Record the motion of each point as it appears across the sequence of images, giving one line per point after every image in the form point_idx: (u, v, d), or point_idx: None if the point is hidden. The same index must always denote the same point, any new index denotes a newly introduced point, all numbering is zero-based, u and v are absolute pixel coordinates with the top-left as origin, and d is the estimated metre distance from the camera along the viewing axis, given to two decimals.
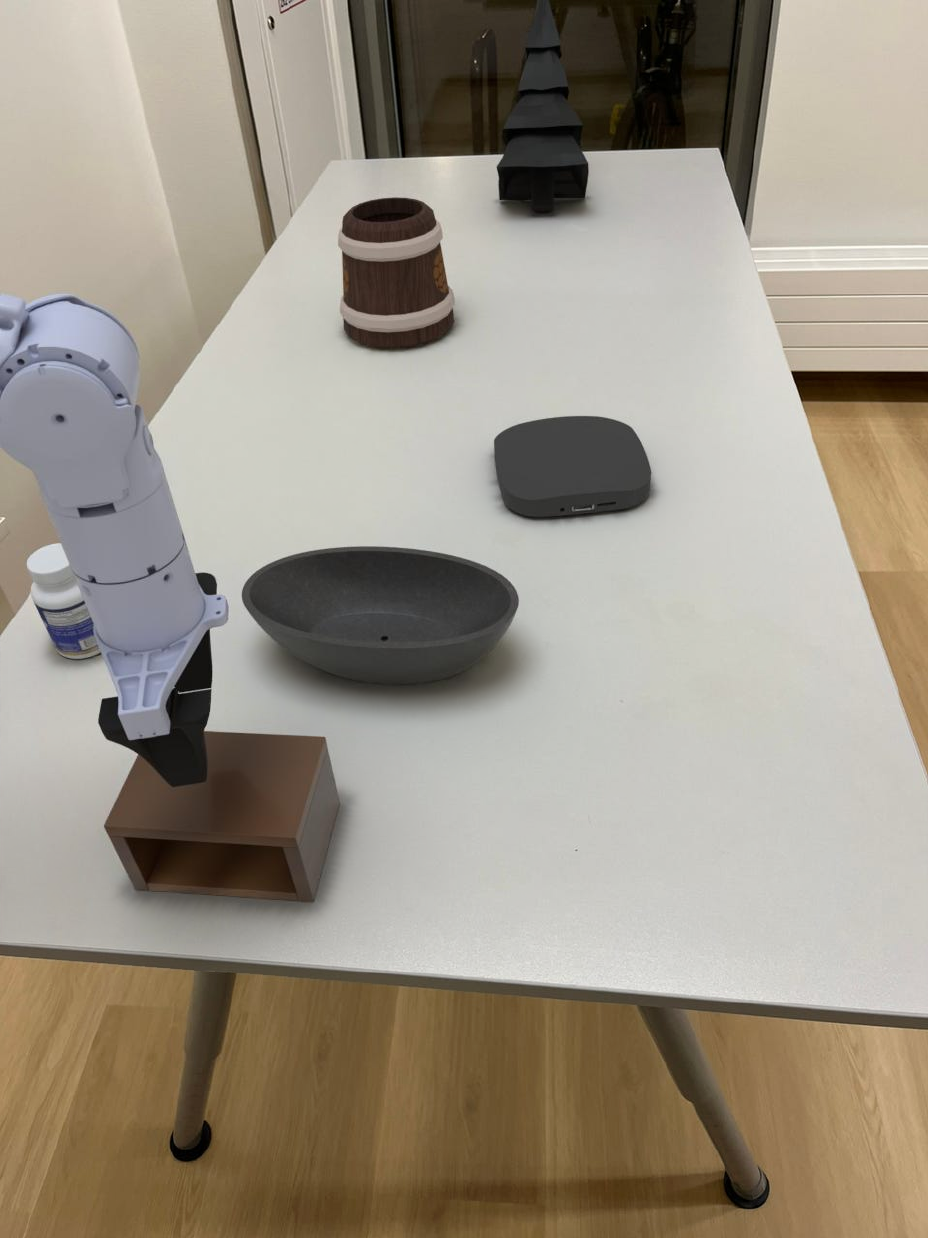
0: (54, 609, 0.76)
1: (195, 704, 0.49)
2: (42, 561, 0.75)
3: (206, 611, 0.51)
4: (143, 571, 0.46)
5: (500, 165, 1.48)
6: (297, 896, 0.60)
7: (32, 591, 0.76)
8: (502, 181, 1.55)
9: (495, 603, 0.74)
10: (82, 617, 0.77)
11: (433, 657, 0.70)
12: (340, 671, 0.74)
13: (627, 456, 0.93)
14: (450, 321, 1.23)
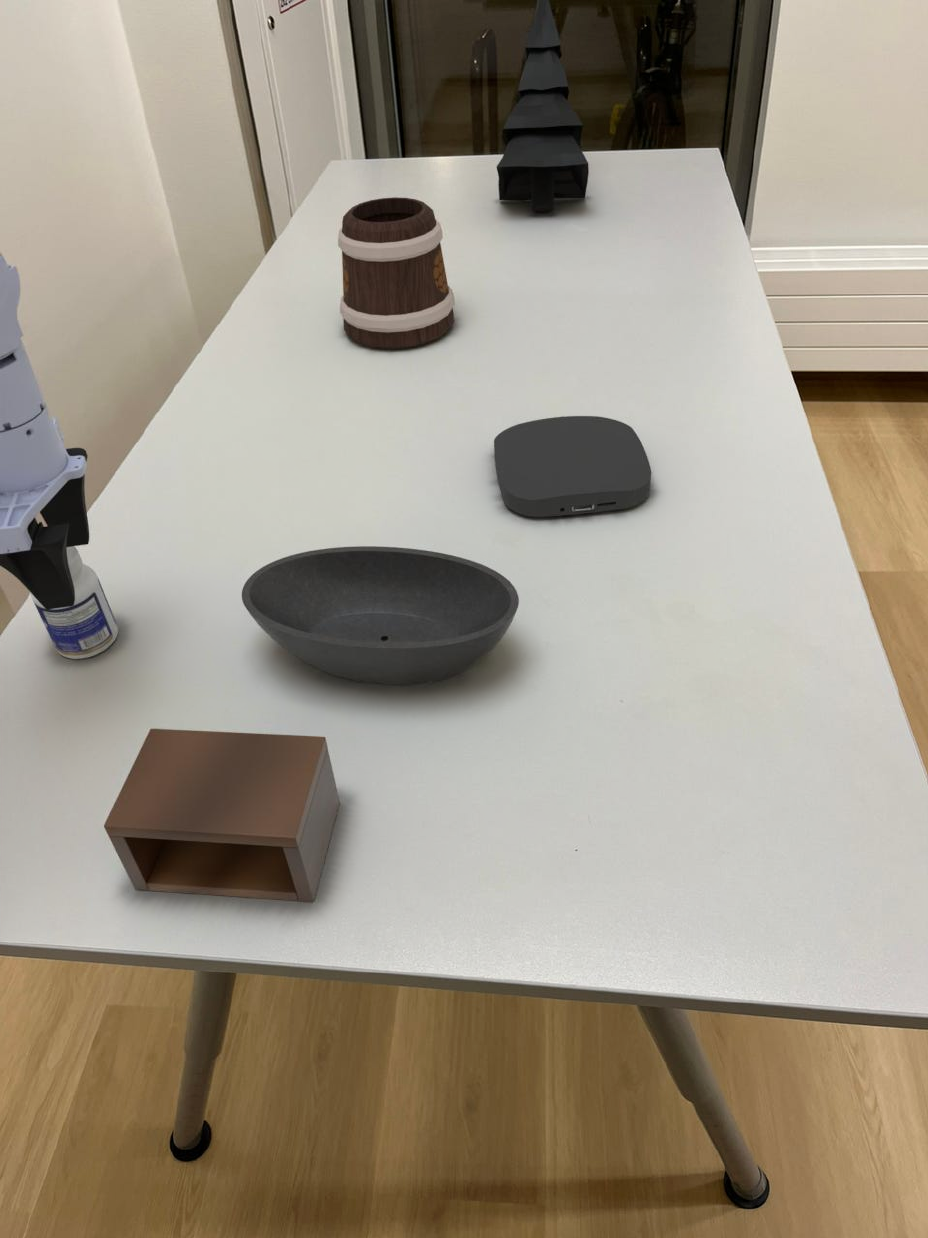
0: (54, 609, 0.76)
1: (54, 533, 0.64)
2: None
3: (67, 466, 0.66)
4: (38, 408, 0.63)
5: (500, 165, 1.48)
6: (297, 896, 0.60)
7: None
8: (502, 181, 1.55)
9: (495, 603, 0.74)
10: (82, 617, 0.77)
11: (433, 657, 0.70)
12: (340, 671, 0.74)
13: (627, 456, 0.93)
14: (450, 321, 1.23)
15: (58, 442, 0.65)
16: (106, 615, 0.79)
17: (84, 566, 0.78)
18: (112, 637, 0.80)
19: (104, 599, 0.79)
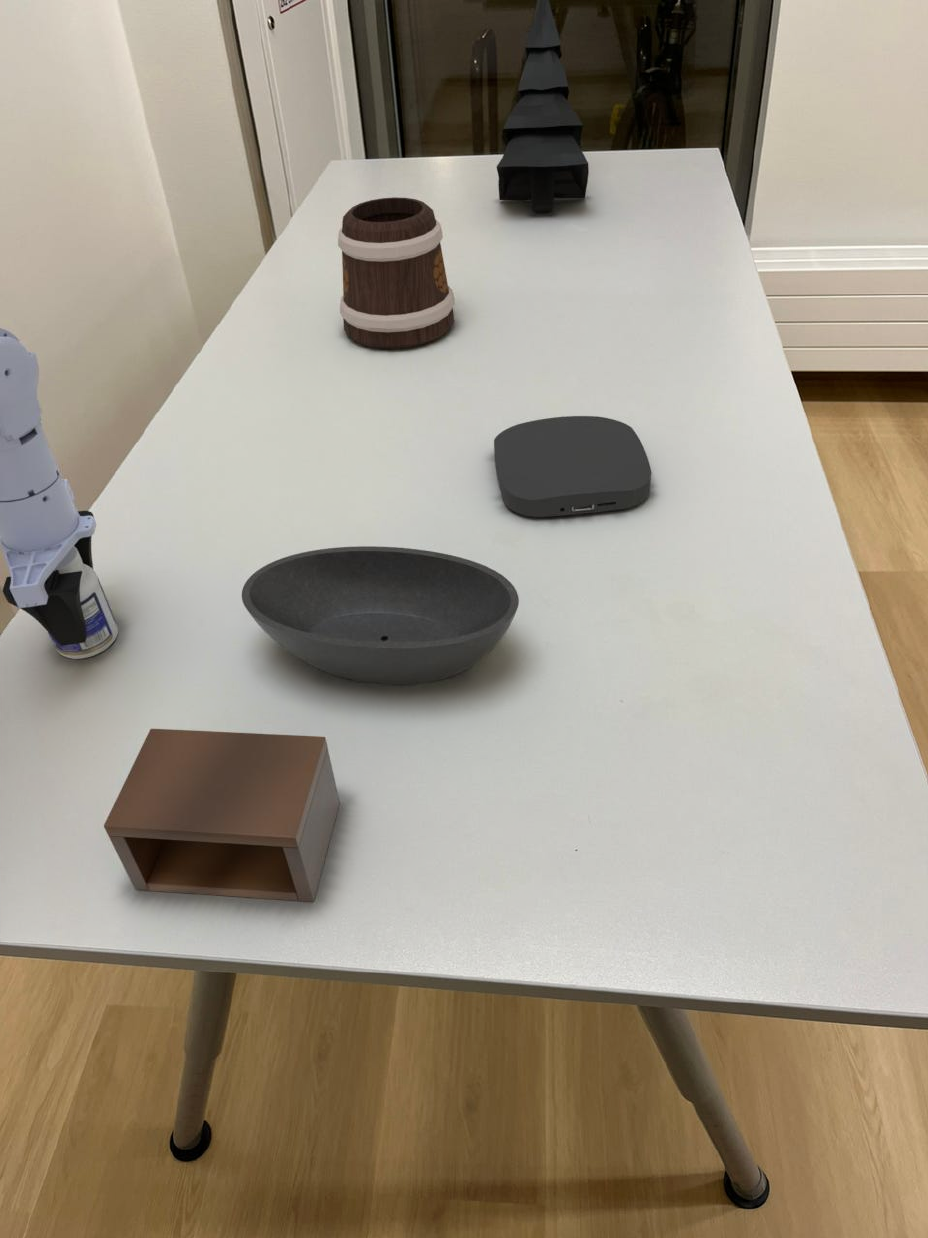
0: None
1: (69, 580, 0.72)
2: None
3: (78, 526, 0.74)
4: (55, 474, 0.70)
5: (500, 165, 1.48)
6: (297, 896, 0.60)
7: None
8: (502, 181, 1.55)
9: (495, 603, 0.74)
10: None
11: (433, 657, 0.70)
12: (340, 671, 0.74)
13: (627, 456, 0.93)
14: (450, 321, 1.23)
15: (70, 505, 0.73)
16: (106, 615, 0.79)
17: (84, 566, 0.78)
18: (112, 637, 0.80)
19: (104, 599, 0.79)
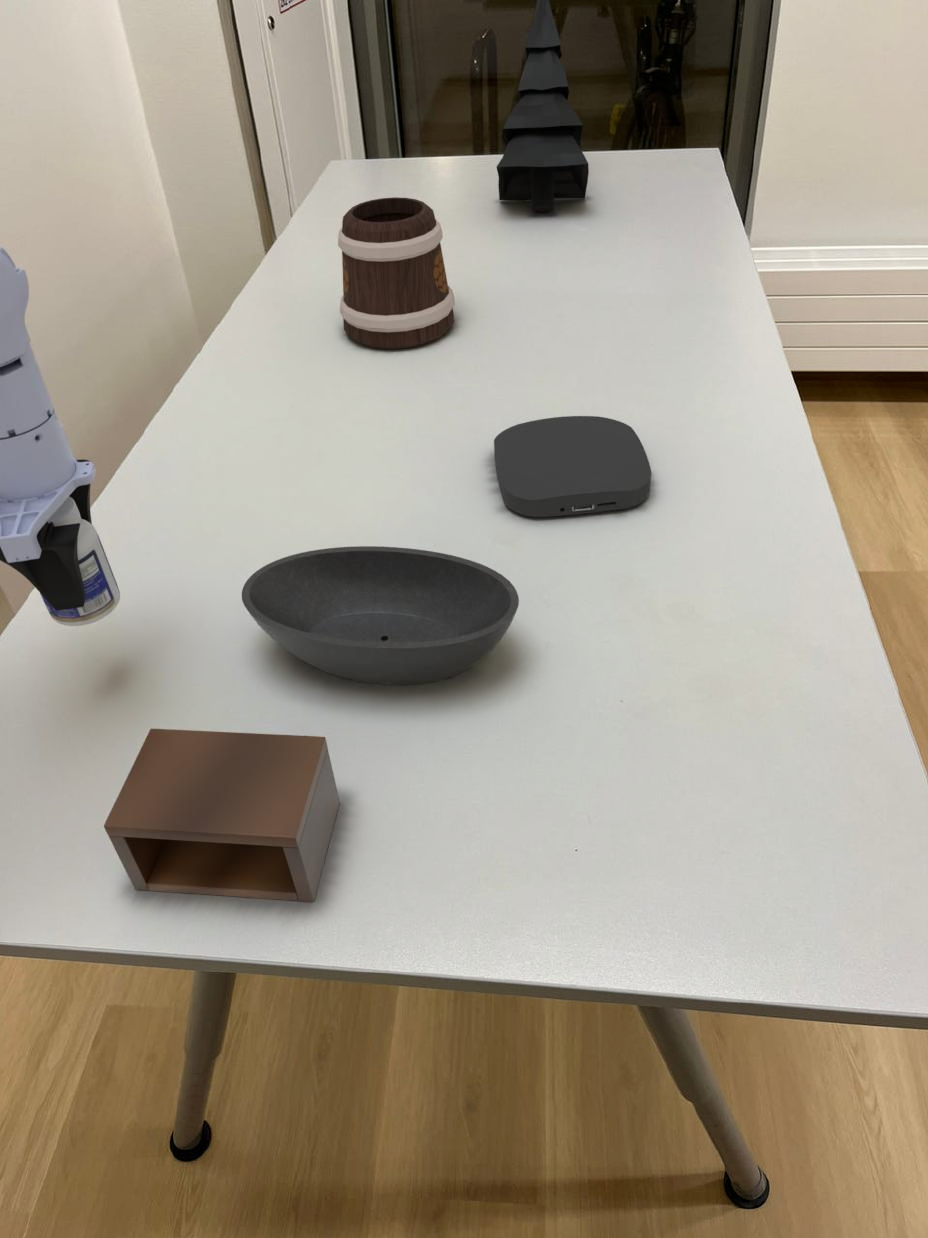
0: None
1: (66, 532, 0.63)
2: None
3: (76, 472, 0.65)
4: (45, 415, 0.61)
5: (500, 165, 1.48)
6: (297, 896, 0.60)
7: None
8: (502, 181, 1.55)
9: (495, 603, 0.74)
10: None
11: (433, 657, 0.70)
12: (340, 671, 0.74)
13: (627, 456, 0.93)
14: (450, 321, 1.23)
15: (67, 448, 0.64)
16: (107, 577, 0.70)
17: (82, 521, 0.69)
18: (113, 602, 0.71)
19: (105, 559, 0.70)
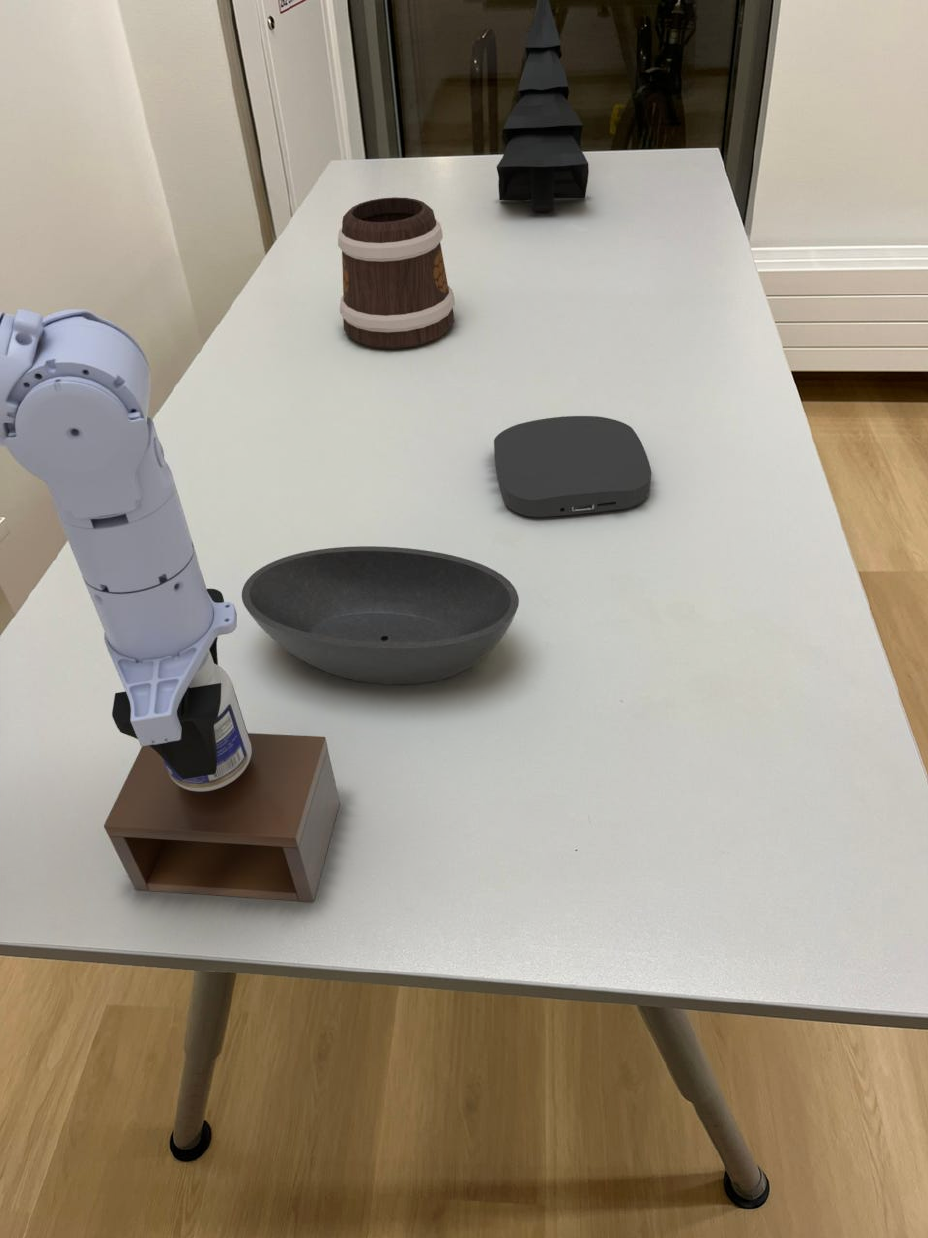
0: None
1: (206, 698, 0.51)
2: None
3: (215, 618, 0.52)
4: (154, 580, 0.47)
5: (500, 165, 1.48)
6: (297, 896, 0.60)
7: None
8: (502, 181, 1.55)
9: (495, 603, 0.74)
10: None
11: (433, 657, 0.70)
12: (340, 671, 0.74)
13: (627, 456, 0.93)
14: (450, 321, 1.23)
15: (206, 590, 0.51)
16: (241, 733, 0.57)
17: None
18: (246, 759, 0.59)
19: (239, 710, 0.57)
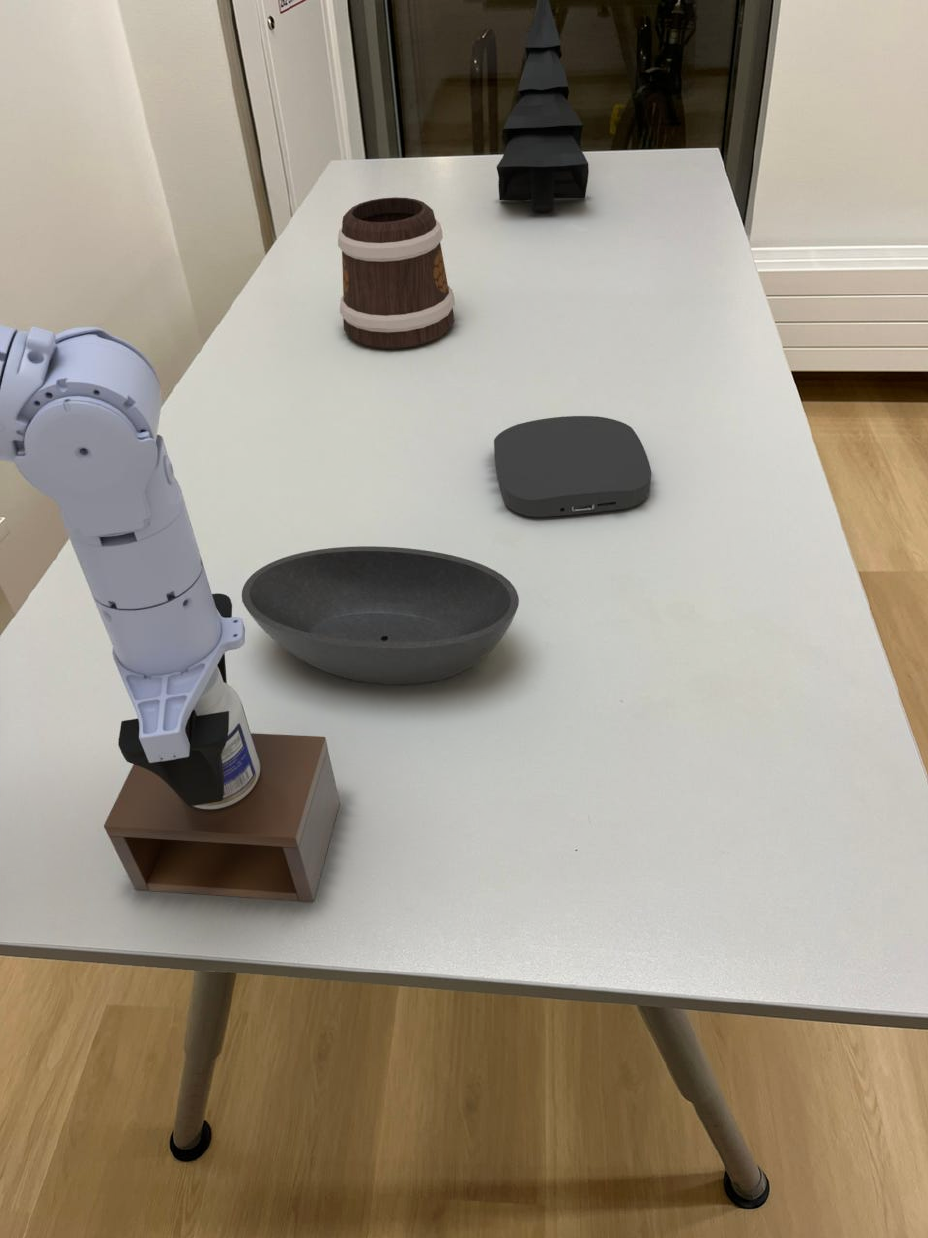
0: None
1: (213, 726, 0.50)
2: None
3: (223, 634, 0.52)
4: (162, 597, 0.47)
5: (500, 165, 1.48)
6: (297, 896, 0.60)
7: None
8: (502, 181, 1.55)
9: (495, 603, 0.74)
10: (223, 758, 0.55)
11: (433, 657, 0.70)
12: (340, 671, 0.74)
13: (627, 456, 0.93)
14: (450, 321, 1.23)
15: (214, 606, 0.51)
16: (249, 751, 0.58)
17: None
18: (255, 777, 0.59)
19: (248, 729, 0.58)
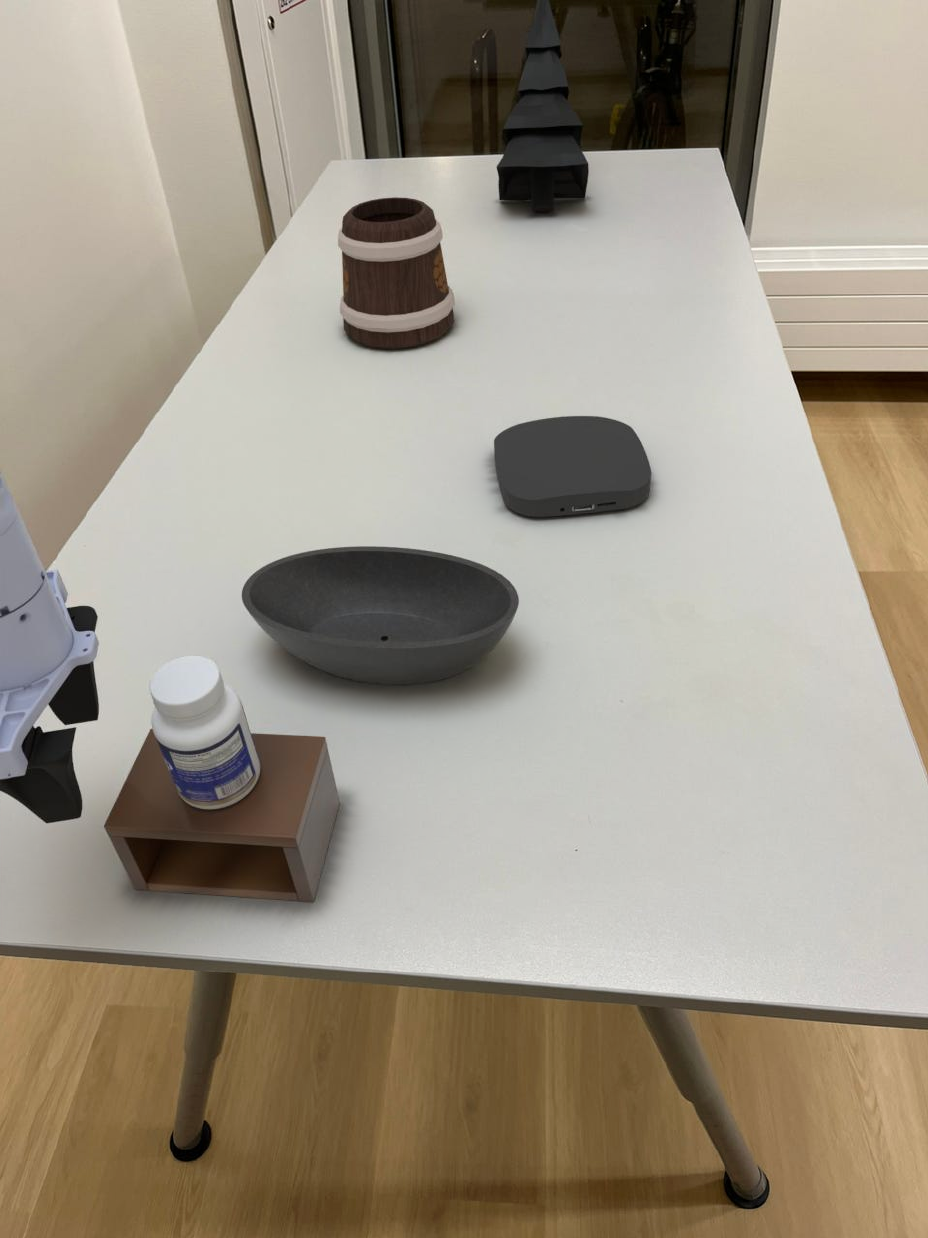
0: (187, 750, 0.54)
1: (57, 743, 0.49)
2: (171, 685, 0.54)
3: (73, 648, 0.51)
4: None
5: (500, 165, 1.48)
6: (297, 896, 0.60)
7: (155, 724, 0.55)
8: (502, 181, 1.55)
9: (495, 603, 0.74)
10: (223, 758, 0.55)
11: (433, 657, 0.70)
12: (340, 671, 0.74)
13: (627, 456, 0.93)
14: (450, 321, 1.23)
15: (61, 620, 0.50)
16: (249, 751, 0.58)
17: None
18: (255, 777, 0.59)
19: (248, 729, 0.58)
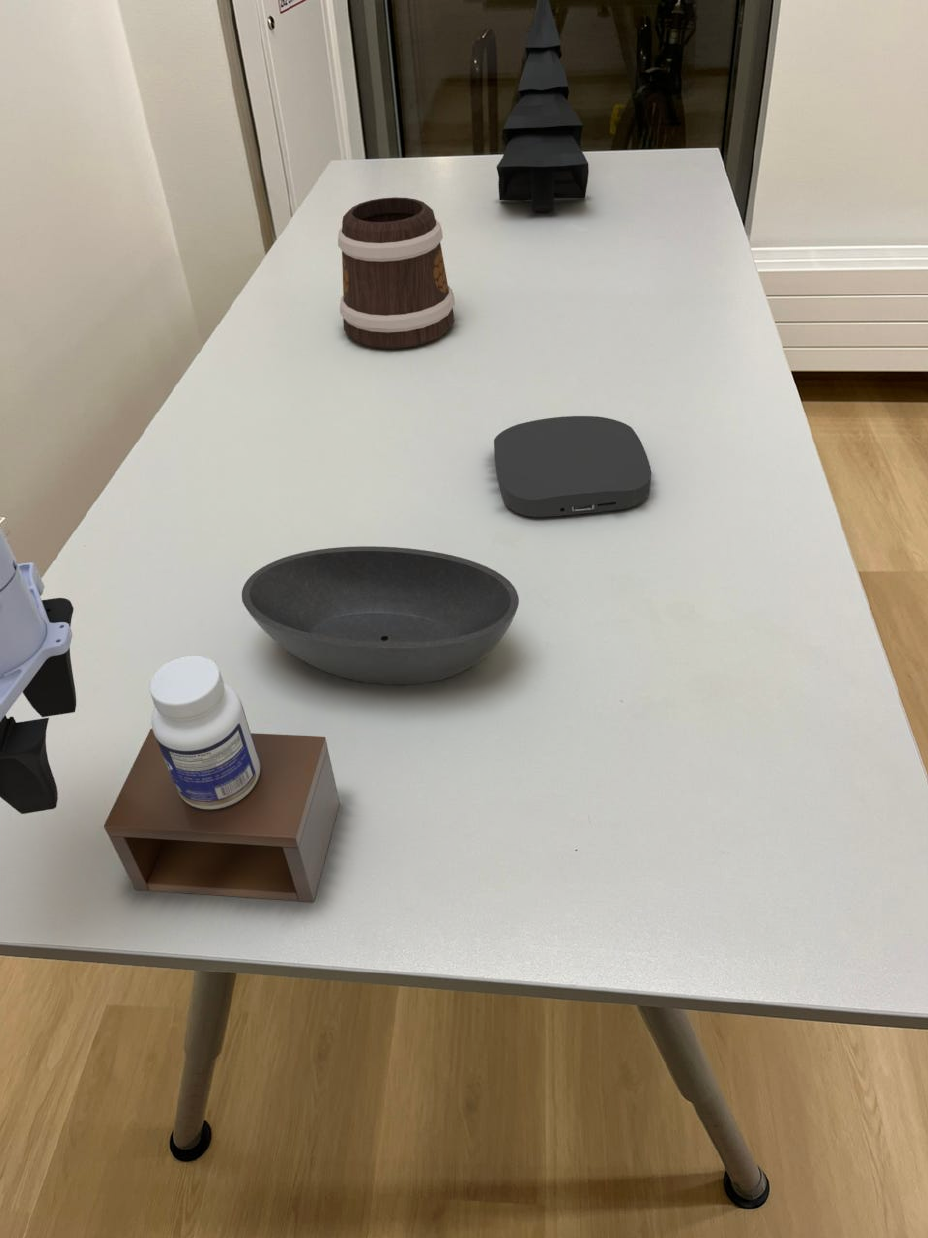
0: (187, 750, 0.54)
1: (29, 733, 0.49)
2: (171, 685, 0.54)
3: (46, 639, 0.51)
4: None
5: (500, 165, 1.48)
6: (297, 896, 0.60)
7: (155, 724, 0.55)
8: (502, 181, 1.55)
9: (495, 603, 0.74)
10: (223, 758, 0.55)
11: (433, 657, 0.70)
12: (340, 671, 0.74)
13: (627, 456, 0.93)
14: (450, 321, 1.23)
15: (34, 611, 0.50)
16: (249, 751, 0.58)
17: None
18: (255, 777, 0.59)
19: (248, 729, 0.58)
